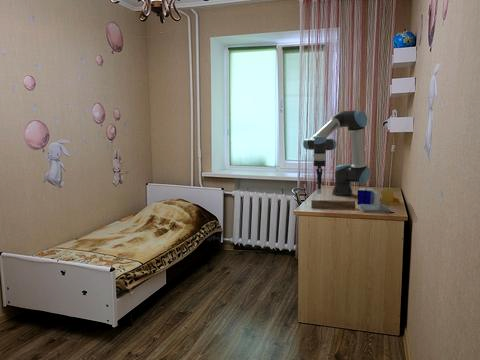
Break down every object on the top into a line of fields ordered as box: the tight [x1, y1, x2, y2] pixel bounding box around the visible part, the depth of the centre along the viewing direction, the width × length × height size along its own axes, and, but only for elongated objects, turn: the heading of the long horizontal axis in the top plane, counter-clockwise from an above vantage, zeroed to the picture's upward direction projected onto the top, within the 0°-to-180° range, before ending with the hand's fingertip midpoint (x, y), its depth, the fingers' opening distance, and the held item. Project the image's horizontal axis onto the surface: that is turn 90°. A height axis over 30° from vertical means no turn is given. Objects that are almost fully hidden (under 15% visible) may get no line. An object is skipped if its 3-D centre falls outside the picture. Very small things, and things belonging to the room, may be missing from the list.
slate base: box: [359, 203, 391, 214], centre depth 259 cm, size 18×16×2 cm
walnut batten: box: [310, 199, 356, 210], centre depth 265 cm, size 4×28×5 cm, turn 79°
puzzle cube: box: [356, 187, 372, 205], centre depth 277 cm, size 10×10×10 cm
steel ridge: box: [370, 188, 381, 210], centre depth 258 cm, size 18×3×10 cm, turn 170°
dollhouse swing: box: [380, 189, 401, 206], centre depth 277 cm, size 10×10×9 cm
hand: (318, 192), depth 265 cm, fingers open, 13 cm apart
